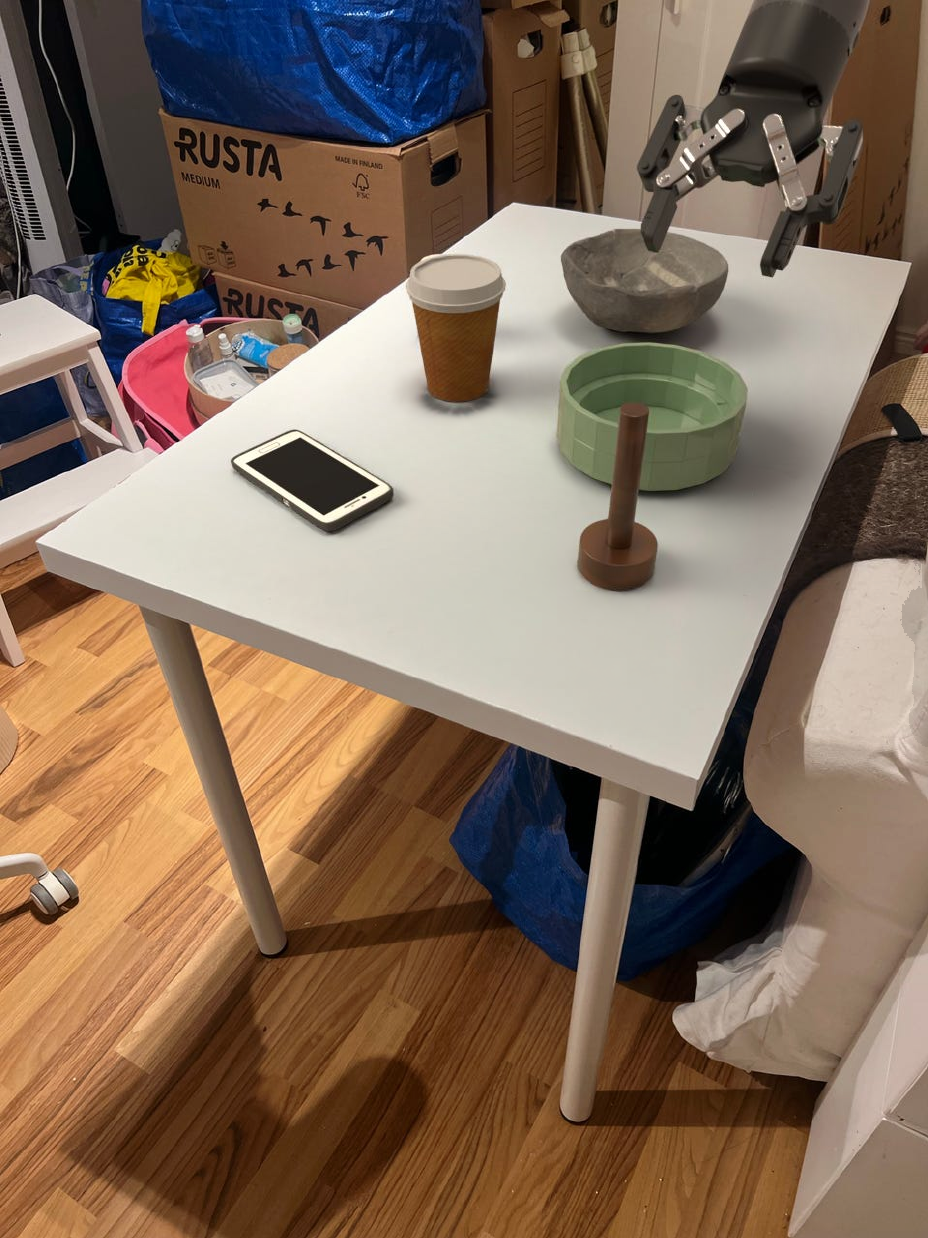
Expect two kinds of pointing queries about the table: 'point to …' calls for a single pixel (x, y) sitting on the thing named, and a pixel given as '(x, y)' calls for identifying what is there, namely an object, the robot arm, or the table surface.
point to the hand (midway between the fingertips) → (706, 258)
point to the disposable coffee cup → (456, 322)
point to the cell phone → (312, 479)
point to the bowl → (643, 280)
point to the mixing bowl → (652, 412)
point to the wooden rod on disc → (621, 516)
